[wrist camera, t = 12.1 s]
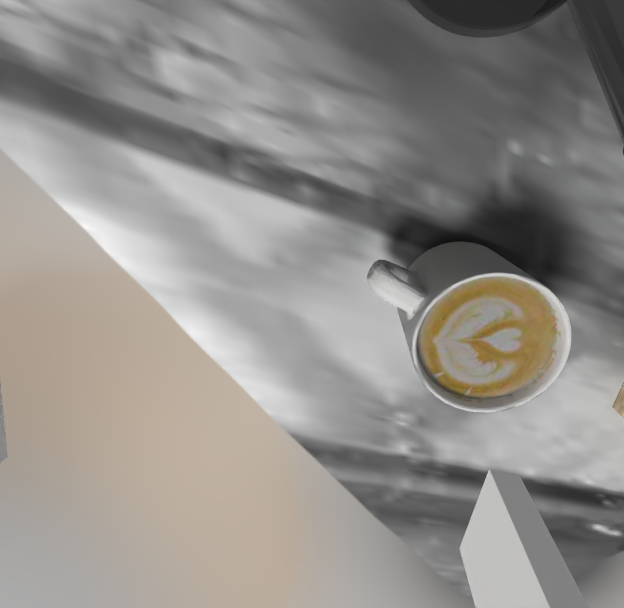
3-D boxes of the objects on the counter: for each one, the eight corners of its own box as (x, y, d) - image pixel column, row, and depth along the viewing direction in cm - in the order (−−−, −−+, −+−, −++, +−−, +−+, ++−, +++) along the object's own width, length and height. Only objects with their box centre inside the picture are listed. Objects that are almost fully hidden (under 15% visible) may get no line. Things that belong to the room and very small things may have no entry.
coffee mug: (540, 289, 36) (607, 336, 26) (457, 370, 39) (491, 438, 29) (419, 190, 34) (445, 202, 25) (343, 283, 37) (339, 325, 28)
